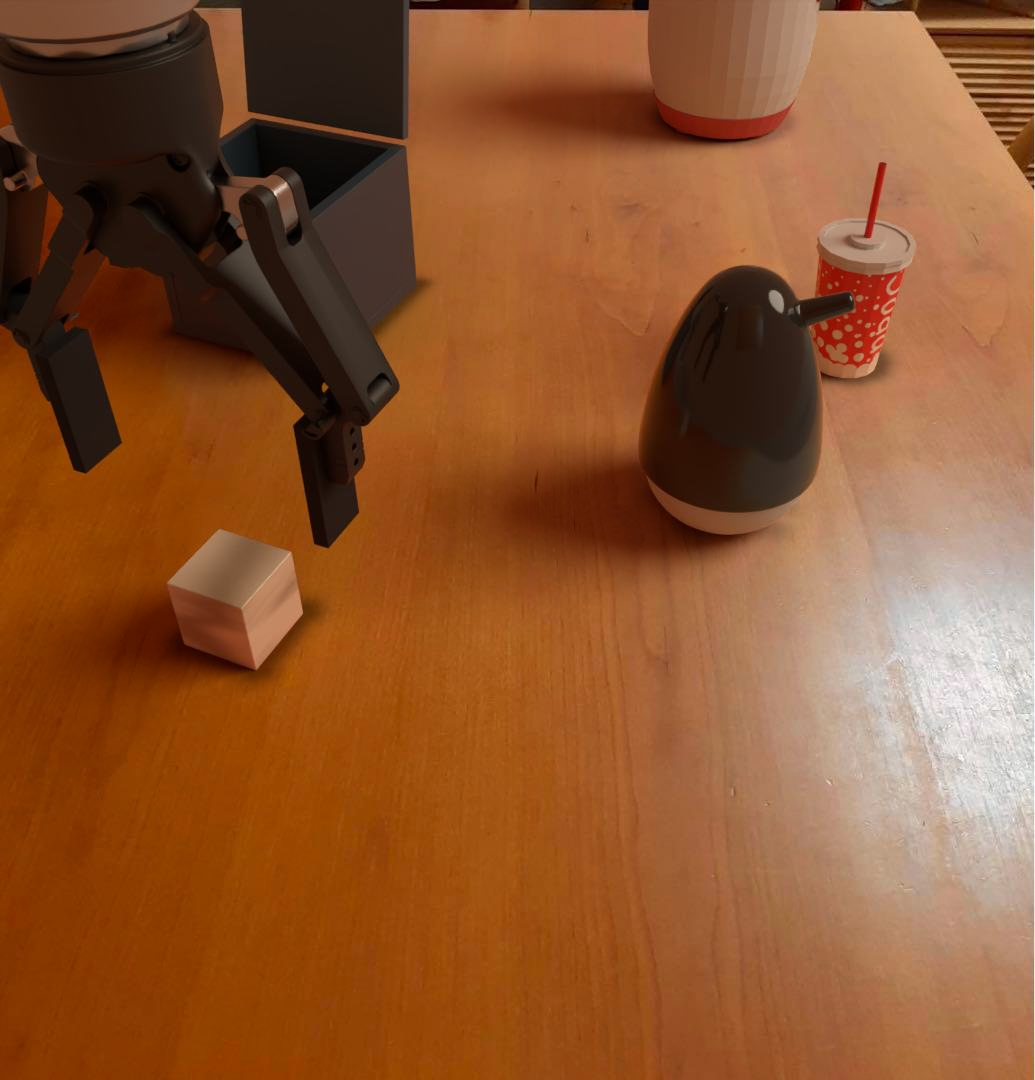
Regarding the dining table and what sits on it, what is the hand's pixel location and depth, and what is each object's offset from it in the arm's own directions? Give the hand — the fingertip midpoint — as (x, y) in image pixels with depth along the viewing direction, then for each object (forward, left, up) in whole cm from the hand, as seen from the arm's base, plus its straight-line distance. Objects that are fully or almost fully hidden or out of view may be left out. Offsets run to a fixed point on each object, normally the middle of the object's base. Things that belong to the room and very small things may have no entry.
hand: (213, 491), depth 55 cm
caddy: (-15, +29, -10) cm, 34 cm away
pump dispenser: (+20, +20, -10) cm, 30 cm away
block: (0, 0, -10) cm, 10 cm away
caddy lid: (-15, +36, +9) cm, 40 cm away
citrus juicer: (+4, +75, -10) cm, 76 cm away
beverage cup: (+23, +38, -10) cm, 45 cm away
